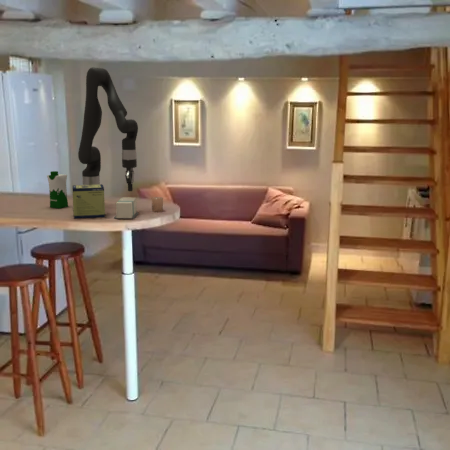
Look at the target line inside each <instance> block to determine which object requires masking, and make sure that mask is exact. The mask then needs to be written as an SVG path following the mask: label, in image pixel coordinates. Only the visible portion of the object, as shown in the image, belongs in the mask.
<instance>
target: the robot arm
mask: <svg viewBox="0 0 450 450" xmlns="http://www.w3.org/2000/svg"><path fill="white" fill-rule="evenodd" d="M99 87H101V88H102V89H103V90H104V92H105V93H106V96H107V105H108V108H109V110H110V112H111V113H112V115H113V117H114V119H115V124H116V126H117V129H118V130H119V132H120V133H121V134H126V136H125V137H124V138H122V139H121V165H122V168H124V169H126V171H124V173H125V175H124V177H125V181H126V184H127V191H128V192H133V189H134V188H133V187H134V186H133V185H134V182H135V181H134V179H135V171H134V169H135V168H137V166H138V165H137V150H136V149H137V147H136V140H137V136H138V132H139V125H138V122H137V121H136V120H135V119H127V118H126V117H127V115H128V110H127V109H126V107H125V106H124V103H123V101H121V98H120V97H119V94H118V93H117V90H116V87H115V84H114V82H113V79H112V77H111V75H110V73H109V72H108V70H107V69H105V68H103V67H94V66H93V67H90V68H88V70H87V72H86V77H85V105H84V113H83V121H82V131H81V138H80V141H79V148H78V153H77V155H78V160H79V162H80V163H81V164H82V165H86V167H85V169H83V170H82V171H81V176H82V178H81V179H82V185H99V184H101V181H100V177H101V176H100V173H101V168H102V165H101V164H102V160H101V159H102V158H101V152H100V149H99V148H98V147H97V146H94V145H93V142H94V139H95V137H96V134H97V133H98V131H99V129H100V127H101V124H102V118H103V110H102V107H101V104H100V101H99V98H98V93H99V91H98V90H99Z"/></svg>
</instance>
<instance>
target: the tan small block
mask: <svg viewBox="0 0 450 450" xmlns="http://www.w3.org/2000/svg"><path fill="white" fill-rule="evenodd" d="M151 211H152V212H154V213H161V212H164V197H160V196H155V197H151Z"/></svg>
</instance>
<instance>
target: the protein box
mask: <svg viewBox="0 0 450 450" xmlns="http://www.w3.org/2000/svg"><path fill="white" fill-rule="evenodd" d="M105 204H106V203H105V187H104V185H103V184H101V183H100V184H99V185H83V184H79V185H78V184H77V185H75V184H73V185H72V209H73V211H72V213H73V219H74V220H75V219H77V220H78V219H96V218H100V219H101V218H106V210H105Z"/></svg>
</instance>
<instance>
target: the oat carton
mask: <svg viewBox="0 0 450 450" xmlns="http://www.w3.org/2000/svg"><path fill="white" fill-rule="evenodd" d="M137 201H138V200H137V197H121V198H120V199H119V200H118V201H117V202H116V203H115V210H116V211H115V212H116V214H115V216H116V218H132V217H133V216H134V215H135V213H136V212H138V211H137V210H138V202H137Z"/></svg>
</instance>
